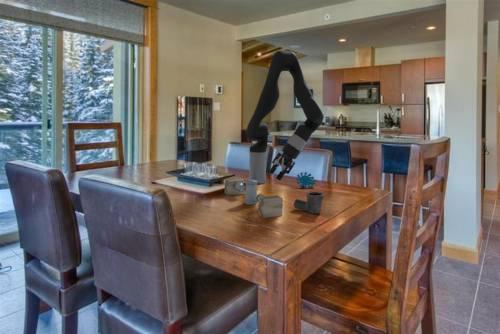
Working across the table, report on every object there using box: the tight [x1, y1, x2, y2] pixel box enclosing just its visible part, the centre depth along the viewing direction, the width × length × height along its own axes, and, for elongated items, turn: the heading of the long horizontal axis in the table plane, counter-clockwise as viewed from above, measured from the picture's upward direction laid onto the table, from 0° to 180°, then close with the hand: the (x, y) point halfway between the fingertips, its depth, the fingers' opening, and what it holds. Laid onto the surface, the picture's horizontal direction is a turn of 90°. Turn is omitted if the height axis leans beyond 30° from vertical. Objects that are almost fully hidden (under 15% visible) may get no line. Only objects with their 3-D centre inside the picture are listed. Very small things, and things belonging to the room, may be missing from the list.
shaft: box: [256, 193, 265, 203], centre depth 142 cm, size 7×4×4 cm, turn 24°
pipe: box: [293, 191, 325, 215], centre depth 141 cm, size 6×13×8 cm, turn 52°
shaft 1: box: [233, 182, 246, 193], centre depth 165 cm, size 7×4×4 cm, turn 24°
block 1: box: [224, 177, 245, 196], centre depth 171 cm, size 5×8×7 cm, turn 114°
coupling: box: [244, 179, 258, 206], centre depth 153 cm, size 5×5×10 cm
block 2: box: [257, 194, 284, 219], centre depth 137 cm, size 5×8×7 cm, turn 114°
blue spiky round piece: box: [295, 171, 318, 189], centre depth 188 cm, size 11×6×10 cm
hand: (274, 176), depth 160 cm, fingers open, 8 cm apart
